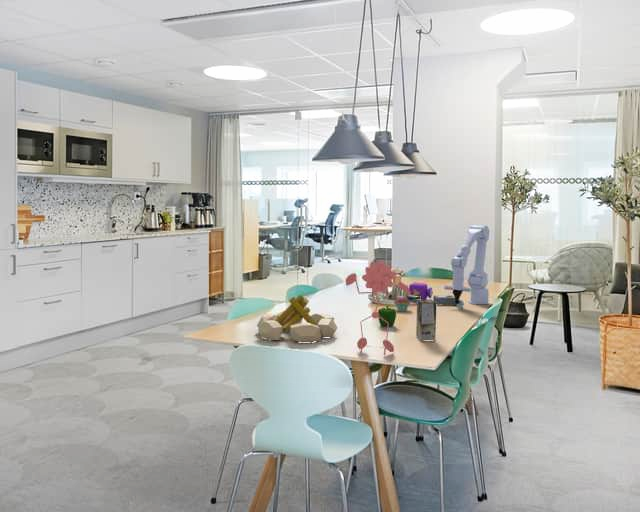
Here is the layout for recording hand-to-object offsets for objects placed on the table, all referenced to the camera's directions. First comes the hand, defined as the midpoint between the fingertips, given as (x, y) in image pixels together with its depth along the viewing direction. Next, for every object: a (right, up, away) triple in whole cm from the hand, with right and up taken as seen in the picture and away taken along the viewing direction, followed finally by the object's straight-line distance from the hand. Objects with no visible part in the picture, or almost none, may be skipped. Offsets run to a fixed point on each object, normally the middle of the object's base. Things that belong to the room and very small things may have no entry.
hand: (457, 303), depth 324 cm
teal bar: (+2, -2, +2) cm, 3 cm away
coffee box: (-30, -9, -74) cm, 80 cm away
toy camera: (-16, 0, +23) cm, 28 cm away
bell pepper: (-43, -7, -48) cm, 65 cm away
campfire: (-85, -8, -68) cm, 108 cm away
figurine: (-52, -11, -95) cm, 109 cm away
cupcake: (-31, -3, -10) cm, 33 cm away
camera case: (-4, -1, +11) cm, 12 cm away
